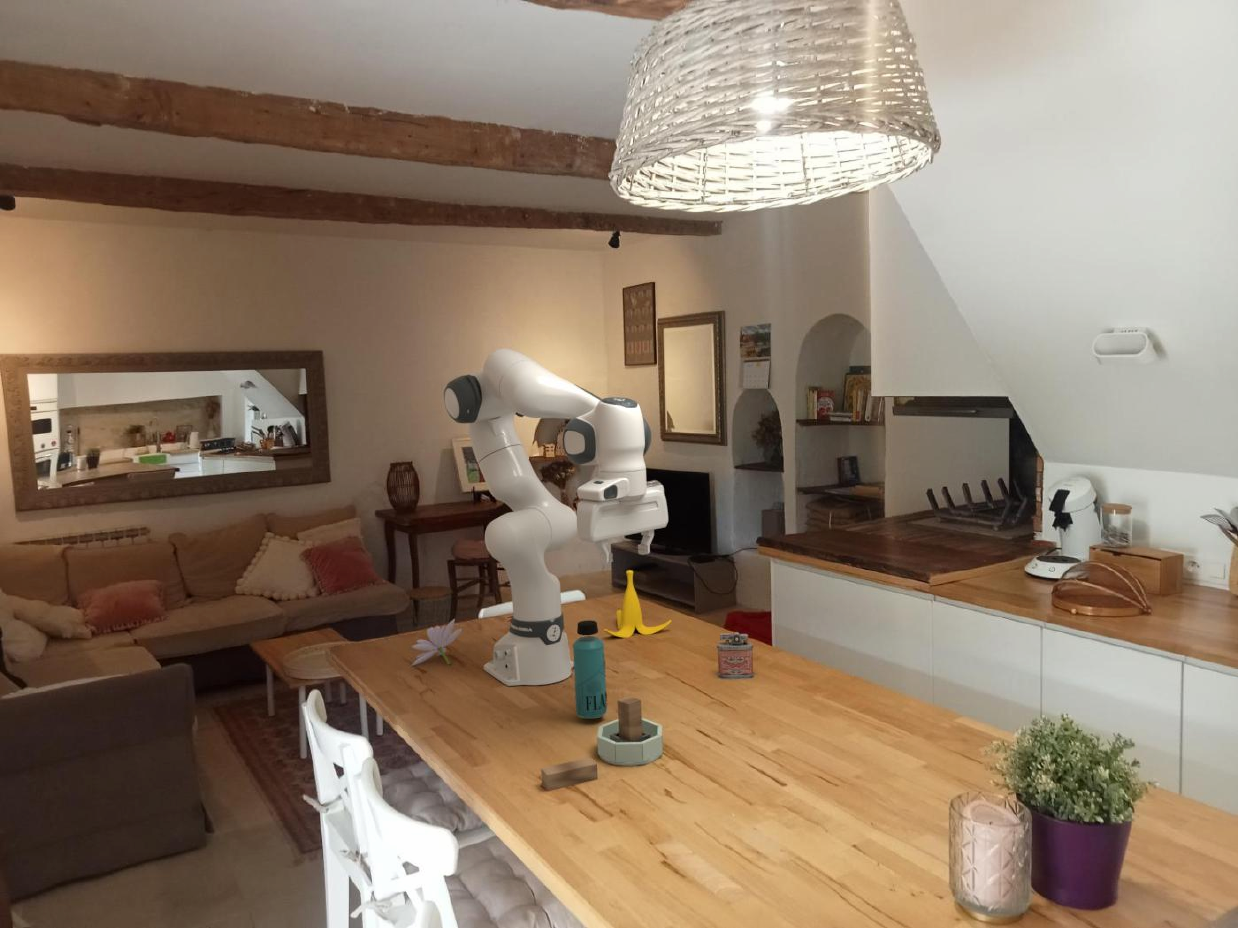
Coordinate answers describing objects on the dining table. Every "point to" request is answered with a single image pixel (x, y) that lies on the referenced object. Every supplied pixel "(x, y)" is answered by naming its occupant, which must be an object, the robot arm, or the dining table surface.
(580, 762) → the small wooden block
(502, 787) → the dining table surface
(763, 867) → the dining table surface
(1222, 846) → the dining table surface
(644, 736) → the wick clip
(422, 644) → the water lily
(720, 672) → the lighter
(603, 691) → the beverage bottle
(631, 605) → the banana peel
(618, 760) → the faceted green bowl
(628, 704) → the wooden post
